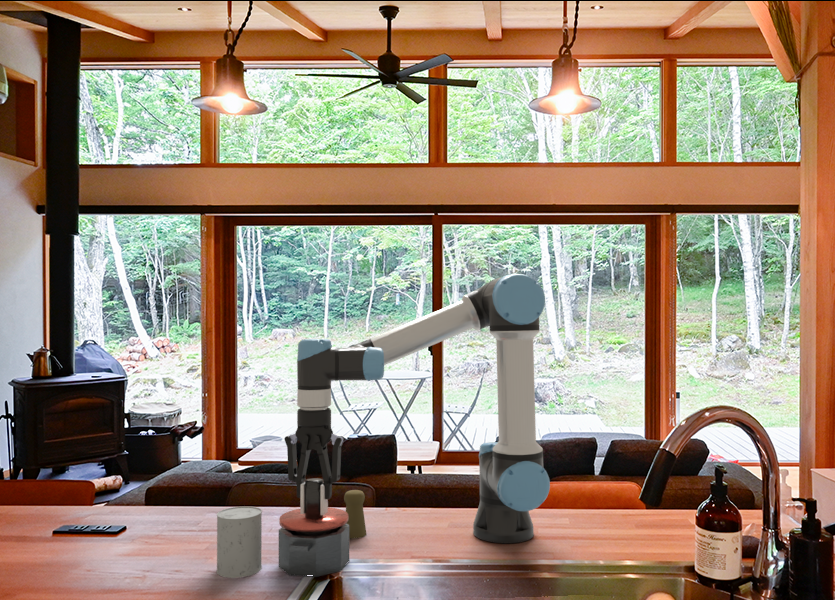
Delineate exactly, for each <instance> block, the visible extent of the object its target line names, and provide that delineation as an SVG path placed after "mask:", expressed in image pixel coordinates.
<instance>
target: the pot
mask: <svg viewBox="0 0 835 600" xmlns="http://www.w3.org/2000/svg"><path fill="white" fill-rule="evenodd" d="M348 561H349V562H350V538H349V525H348V524H345V525H343V526H341V527H338V528H335V529H332V531H331V532H329V533H327V534H324V535H318V536H304V535H300V534H298V533H296V531H292V530H288V529H285V528H283V527H280V528H279V529H278V568H280V569H281V570H282V571H283V572H285V573H286V574H287V575H289V576H296V577H297V576H298V577H308V576H307V575H313V576H314V577H313V578H318V577H321V576H326V575H329V574H335V573H339V572H342V571H343V569H344V568H345V567H346V566H345V564H346V563H347V562H348ZM349 562H348V563H349ZM348 563H347V564H348Z"/></svg>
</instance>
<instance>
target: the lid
mask: <svg viewBox="0 0 835 600" xmlns="http://www.w3.org/2000/svg"><path fill="white" fill-rule="evenodd" d="M304 482H305V514H300V508H298V509H293V510H289V511H287V512H284V513H283V514H281V515H280V516H279V518H278V519H279V520H278V521H279V526H280V528H282V527H283V528H285V529H288V530H292V531H296V533H298V534H300V535H304V536H318V535H324V534H327V533H329V532H331V531H332V529H335V528H338V527H341V526H343V525H345V524H346V523H347V522H348V513H347V512H346V510H343V509H340V508H336V507H329V506H328V512H327V513H326V514H325V515H320V506H321V485H322V484H323V483H324V481H323V478H318V477H317V478H314V477H313V478H307V479H306V480H304Z"/></svg>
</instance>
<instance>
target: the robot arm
mask: <svg viewBox="0 0 835 600" xmlns="http://www.w3.org/2000/svg"><path fill="white" fill-rule="evenodd" d="M545 304H546V297H545V292H544V290H543V288H542V286H541V285H540V283H539V282H538V281H537V280H536V279H534V278H533V277H531V276H530V275H526V274H523V273H511V274H510V273H508V274H506V275H504V276H500V277H497V278H494V279H492V280H490V281H489V282H487V283H485V284H484V285H482V286H480V287H479V288H477V289H475V290H473V291H471V292H469V293H468V292H467V293H466V294H464V295H463V296H462V298H461V300H460V301H457V302H455V303H452V304H450V305H447V306H445V307H443V308H441V309H440V308H439V310H436V311H433V312H431V313H429V314H426V315H423V316H421V317H418V318H416V319H413V320H411V321H409V322H407V323H405V324H402V325H399V326H396V327H395V328H392V329H390V330H387V331H385V332H383V333H380V334H378V335H376V336H373V337H370V338H369V339H366V340H363V341H361V342H359V343H356V344H352V345H349V346H347V347H333V345H332V341H331V339H328V338H305V339H301V340H300V341H299V342H298V345H297V358H296V368H297V370H296V371H297V373H296V375H297V395H296V396H297V397H296V398H297V399H296V400H297V401H296V404H297V405H296V406H297V407H298V409H297V414H296V415H297V417H296V421H297V424H296V425H297V428H296V431H295V433H293V434H288V435H287V436H285V437H284V442H285V445H286V447H287V448H286V449H287V474H288V475H287V478H288V481H290V482H291V481H292V482H294V483H295V484H296V498H297V499H298V498H299V499H300V501H299V502H300V505H299V506H300V508H299V509H300V514H305V480H307V479H306V475H307V469H308V464H309V459H310V455H311V452H312V450H315V451H316V452H317V455H318V459H319V465H320V469H321V476H322V479H323V484H322V485H321V506H320V515H325V514H326V513H327V512H328V507H329V501H328V500H330V499H331V498H332V495H333V489H332V485H333V484H334V483H336V482H338V481H339V480H340V479H341V465H342V463H341V462H342V446H343V443H344V441H345V437H344V436H342V435H340V436H339V435H337V434H335V433H334V431H333V429H332V409H331V408H330V407H331V405H332V381H335V382H339V381H367V382H371V381H377V380H378V381H379V380H382V379H383V378H384V376H385V366H386V365H388V364H390V363H393V362H395V361H397V360H401V359H402V358H406V357H407V356H410V355H412V354H416V353H417V352H420V351H422V350H424V349H426V348H429V347H431V346H434V345H436V344H439V343H440V342H441V343H442V342H444V341H446V340H448V339H450V338H453V337H455V336H458V335H460V334H462V333H465V332H467V331H470V330H472V329H473V330H476V331H480V330H482V329H485V328H487V327H489V333H490V334H491V336H493V338H494V339H495V341H496V342H495V343H496V345H495V346H496V372H497V373H496V374H497V375H496V378H497V379H496V382H497V384H496V385H497V409H498V410H497V420H498V421H497V423H498V441H496V442H495V441H494V442H483V443H482V444H480V445H479V446H480V447H479V453H478V459H479V463H478V464H479V505H478V508H477V511H476V514H475V518H474V521H473V526H472V528H473V529H472V533H473V535H474V537H476V538H478V539H480V540H482V541H485V542H489V543H496V544H517V543H518V544H519V543H523V542H526V541H529V540H532V539H533V538H534V535H535V534H534V533H535V532H534V531H535V530H534V524H533V521H532V517H531V514H530V512H529V511H533V510H535V509H537V508H539V507H540V506H541V505H542V504H543V503H544V502H545V500H546V499H547V498H548V495H549V494H550V493H549V492H550V489H551V484H550V483H551V482H550V481H551V479H550V477H549V474H548V472H547V470H546V469H545V468H544V449H543V447H542V446H541V445H540V444H539V443H538V442H537V437H536V435H537V431H536V395H535V394H536V393H535V359H534V357H535V355H534V339H535V337H536V336H537V335H538V334H539V333H540V316H541V315H542V314H543V312H544V308H545ZM330 441H331V444H332V445H333V447H332V455H331V458H332V461H331V465H330V460H329V454H328V452H329V451H328V444H329V442H330ZM297 442H299V443H300V444H301V448H300V457H299V463H298V457H297V454H298V452H297Z"/></svg>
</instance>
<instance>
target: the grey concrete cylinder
mask: <svg viewBox="0 0 835 600" xmlns="http://www.w3.org/2000/svg"><path fill="white" fill-rule="evenodd" d="M262 513H263V510H262V509H261V508H260V507H256V506H245V505H244V506H233V507H228V508H225V509H222V510H219V511H218V512H217V513H216V516H217V517H216V519H217V520H216V528H217V529H216V534H217V535H216V574H217V575H218V576H220V577H222V578H229V579H238V578H239V579H240V578H245V577H249V576H253V575H255V574H257V573H259V572H261V570H262V569H263V565H262V543H263V542H262V540H263V539H262V532H263V531H262V529H263V528H262V524H263V523H262V522H263V521H262V519H263V518H262V517H263V516H262Z"/></svg>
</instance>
